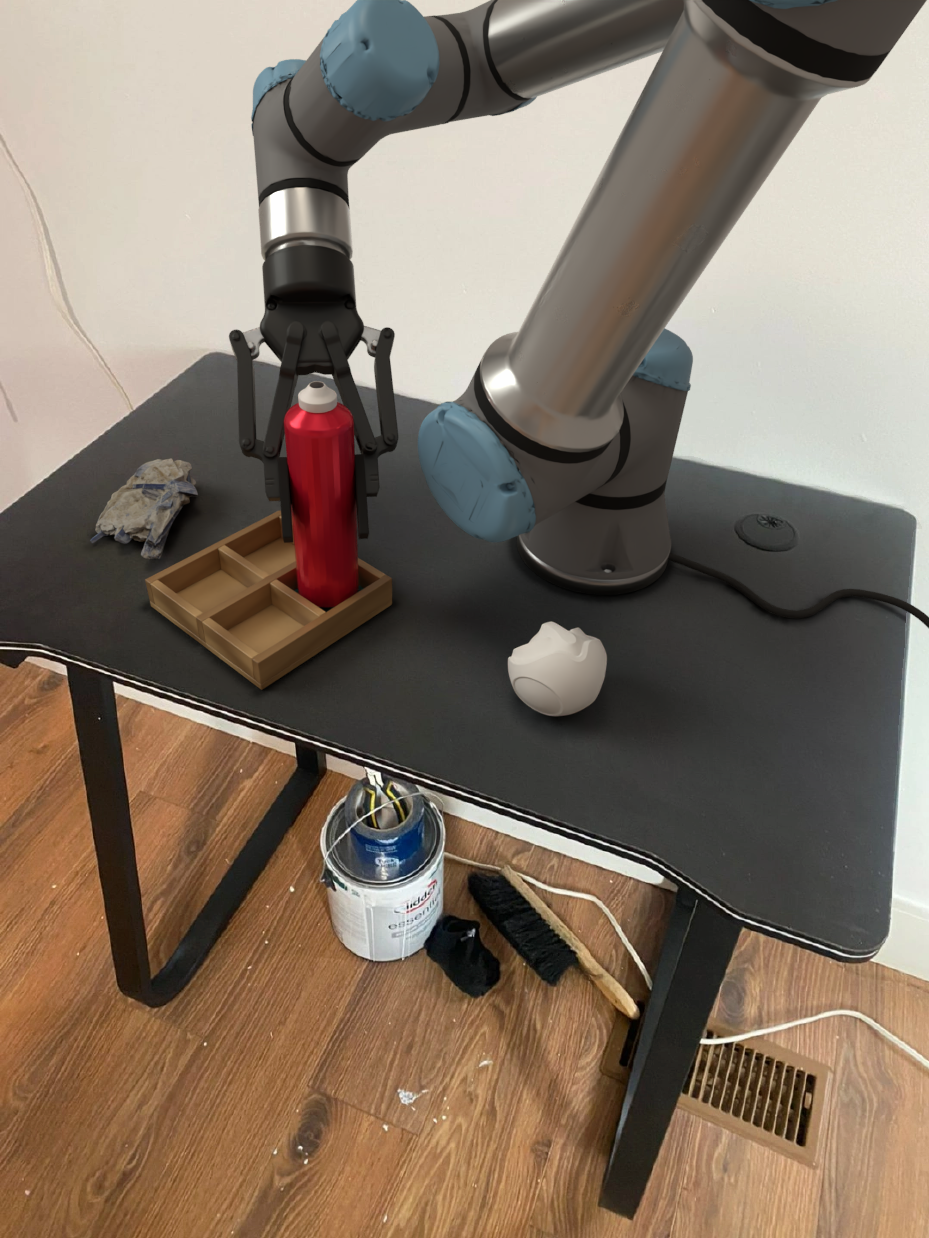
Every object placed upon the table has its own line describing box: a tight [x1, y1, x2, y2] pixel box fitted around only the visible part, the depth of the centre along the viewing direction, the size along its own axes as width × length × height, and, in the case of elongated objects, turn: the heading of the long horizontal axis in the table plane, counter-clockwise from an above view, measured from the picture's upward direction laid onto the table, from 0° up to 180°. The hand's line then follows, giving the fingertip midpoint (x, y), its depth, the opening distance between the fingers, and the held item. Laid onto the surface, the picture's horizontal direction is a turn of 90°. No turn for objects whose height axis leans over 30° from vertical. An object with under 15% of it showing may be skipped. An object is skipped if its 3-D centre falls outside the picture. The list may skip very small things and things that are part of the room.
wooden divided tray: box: [144, 509, 393, 691], centre depth 83 cm, size 15×15×3 cm
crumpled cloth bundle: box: [89, 457, 199, 560], centre depth 91 cm, size 15×8×4 cm, turn 168°
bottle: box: [284, 380, 359, 607], centre depth 77 cm, size 6×5×20 cm
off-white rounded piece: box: [507, 621, 608, 717], centre depth 74 cm, size 8×8×8 cm
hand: (326, 537), depth 75 cm, fingers closed on bottle, 5 cm apart
